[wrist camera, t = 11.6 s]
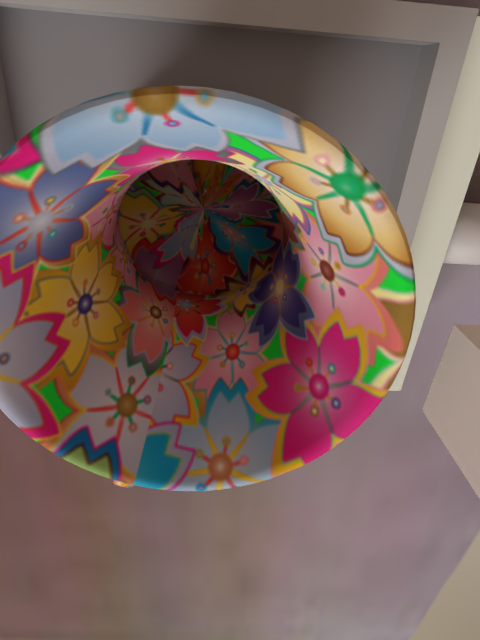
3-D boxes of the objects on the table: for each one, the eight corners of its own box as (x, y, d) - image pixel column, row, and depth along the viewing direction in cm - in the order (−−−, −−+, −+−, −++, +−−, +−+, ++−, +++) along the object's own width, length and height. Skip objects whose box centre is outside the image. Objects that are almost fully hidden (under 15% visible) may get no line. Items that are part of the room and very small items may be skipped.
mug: (123, 31, 15) (-29, -39, 6) (354, 139, 17) (519, 219, 8) (58, 313, 20) (-74, 515, 11) (239, 368, 22) (256, 575, 13)
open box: (20, 339, 25) (-25, 400, 21) (-60, -20, 17) (-167, -56, 12) (436, 352, 27) (483, 410, 23) (551, 38, 19) (663, 26, 14)
